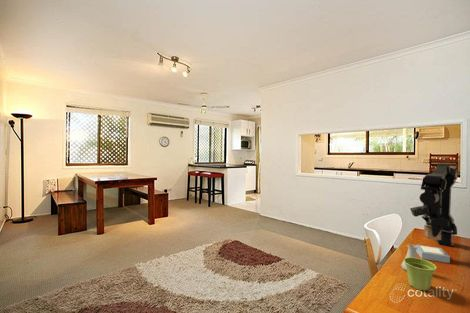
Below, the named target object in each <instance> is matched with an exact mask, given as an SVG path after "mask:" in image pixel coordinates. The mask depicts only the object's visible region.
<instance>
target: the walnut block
mask: <svg viewBox="0 0 470 313" xmlns="http://www.w3.org/2000/svg"><path fill="white" fill-rule="evenodd" d="M423 235H424V237H425V238H426V239H429V240H430V239H431V240H441V231H440V232H439V233H438V235H437V236H436V237H433V235H432V229H431V225H427V224H423Z"/></svg>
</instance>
